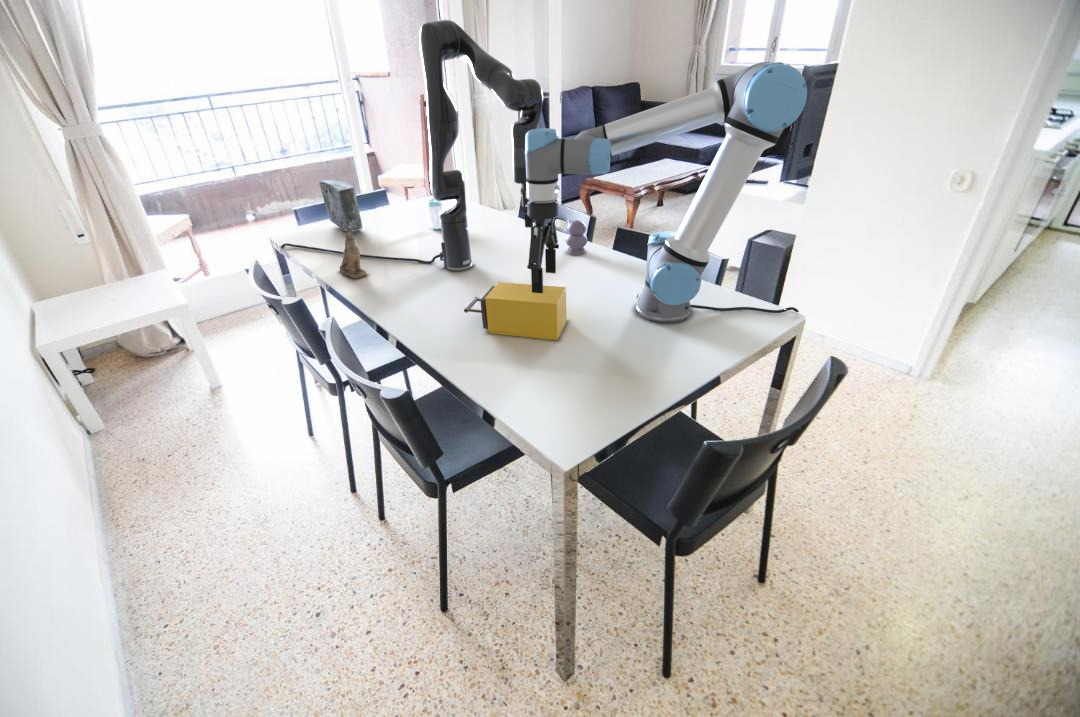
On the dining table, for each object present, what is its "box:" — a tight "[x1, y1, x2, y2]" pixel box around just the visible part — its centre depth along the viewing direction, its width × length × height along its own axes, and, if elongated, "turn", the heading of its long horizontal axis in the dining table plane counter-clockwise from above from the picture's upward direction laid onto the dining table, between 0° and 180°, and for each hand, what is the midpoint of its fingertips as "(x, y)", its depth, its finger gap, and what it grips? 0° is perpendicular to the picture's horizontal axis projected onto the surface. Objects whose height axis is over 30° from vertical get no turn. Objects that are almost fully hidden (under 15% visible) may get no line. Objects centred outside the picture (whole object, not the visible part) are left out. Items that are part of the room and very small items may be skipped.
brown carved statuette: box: [339, 230, 367, 280], centre depth 174 cm, size 12×6×18 cm, turn 43°
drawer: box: [463, 285, 496, 330], centre depth 137 cm, size 24×10×9 cm, turn 75°
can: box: [426, 198, 445, 230], centre depth 220 cm, size 7×7×12 cm
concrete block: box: [318, 178, 363, 233], centre depth 220 cm, size 27×9×20 cm, turn 36°
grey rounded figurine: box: [565, 219, 588, 256], centre depth 186 cm, size 8×8×12 cm
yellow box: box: [485, 281, 567, 341], centre depth 136 cm, size 20×11×11 cm, turn 75°
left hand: (529, 222), depth 143 cm, fingers open, 8 cm apart
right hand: (544, 282), depth 130 cm, fingers open, 13 cm apart
